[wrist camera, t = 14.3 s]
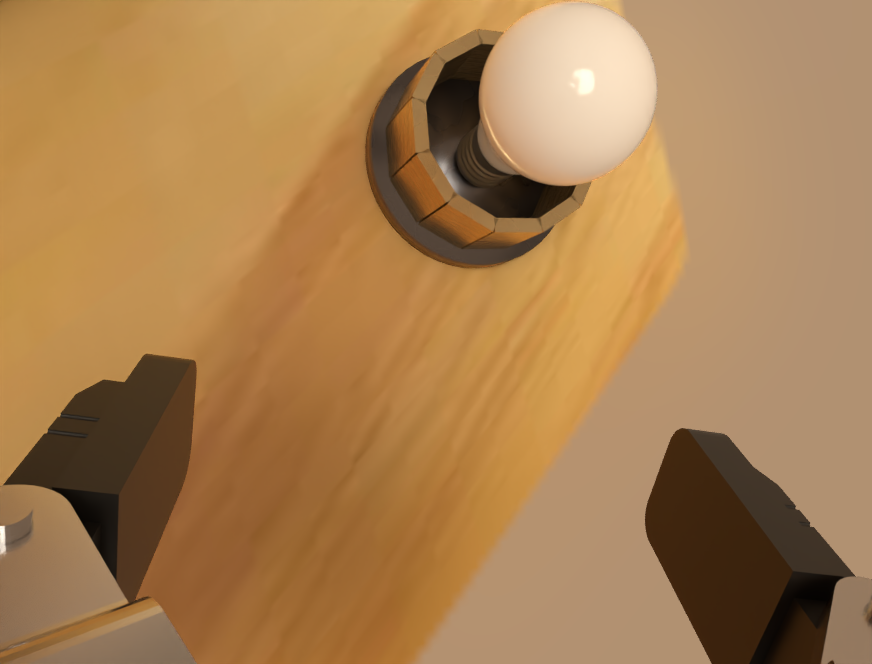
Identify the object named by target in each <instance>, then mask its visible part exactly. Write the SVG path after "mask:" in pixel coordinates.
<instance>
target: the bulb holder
mask: <svg viewBox="0 0 872 664" xmlns="http://www.w3.org/2000/svg"><path fill="white" fill-rule="evenodd" d="M503 33H504V32H497V31H489V30H480V29H478V30H477V31H476V30H474V31H472V32H470V33H468V34H467V35H465V36H463V37H461V38H459V39H457V40H455V41H453V42H451V43H449V44H448V45H446V46H444V47H442V48H440V49H438V50H436V51H435V52H434V53H433V54H432V55H431V57H429V58H427V59H424V60H422V61H420V62H417V63H416V64H414V65H413V66H411V67H410V68H408V69H407V70H405V71H404V72H403V73H402V74H401V75H400V76H399V77H398V78H397V79H396V80H395V81H394V82H393V83H392V85H391V86H390V87H389V88H388V90H387V91H386V92H385V94H384V95H383V96H382V98H381V100H380V101H379V103H378V105H377V106H376V108H375V111H374V113H373V115H372V118H371V120H370V124H369V128H368V132H367V139H366V166H367V173H368V177H369V181H370V185H371V188H372V191H373V193H374V196H375V198H376V201H377V203H378V205H379V207H380V208H381V210H382V212H383V214H384V215H385V217H386V218H387V220H388V221H389V222H390V224H391V225H392V227H393V228H394V229H395V230H396V231H397V232H398V233H399V234H400V235H401V236H402V237H403V238H404V239H405V240H406V241H407V242H408V243H410V244H411V245H412V246H413V247H415V248H416V249H418V250H419V251H421V252H422V253H424V254H425V255H427V256H429V257H431V258H433V259H435V260H437V261H440V262H443V263H446V264H449V265H454V266H459V267H466V268H482V267H490V266H494V265H498V264H501V263H504V262H506V261H509V260H511V259H514V258H516V257H519V256H521V255H523V254H525V253H526V252H528V251H530V250H531V249H533V248H534V247H535V246H536V245H538V244H539V243H540V242H541V241H542V240H543V239H544V238H545V237H546V236H547V235H548V234H549V232H550V231H551V229H552V228H553V227H554V225H555V224H556V223H558V222H559V221H561V220H562V219H564V218H565V217H567V216H568V215H569V214H571V213H572V212H574V211H575V210H577V209H578V208H580V206H581V205H582V204H583V201H584V199H585V196H586V194H587V192H588V189H589V187H590V184H591V182H592V181H591V182H588V183H584V184H579V185H572V186H553V185H547V184H542V183H539V182H535V181H533V180H530V179H528V178H526V177H524V176H522V175H513V176H512V177H510V178H508V179H507V180H505V181H504V182H502V183H501V184H499V185H497V186H495V187H492V188H480V187H477V186H475V185H473V184H471V183H470V182H468V181H467V180H466V179H465V178H464V177H463V175H462V174H461V172H460V170H459V168H458V165H457V161H456V150H457V147H458V144H459V142H460V141H461V139H462V138H463V137H464V136H465V135H466V134H468V133H469V132H470V131H471V130H472V129H473V128H474V127H476V126H477V125H478V123H479V120H480V113H479V85H480V79H481V75H482V71H483V68H484V65H485V63H486V60H487V58H488V56H489V54H490V52H491V50H492V48H493V47H494V45H495V44H496V42H497V41H498V39H499V38H500V37H501V36H502V34H503Z"/></svg>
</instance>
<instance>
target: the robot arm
mask: <svg viewBox="0 0 872 664" xmlns="http://www.w3.org/2000/svg"><path fill="white" fill-rule="evenodd" d="M195 388H196V362H195V361H194V360H189V359H181V358H174V357H167V356H159V355H152V354H145V355H144V356H143V357H142V358H141V360H140V361H139V363H138V364H137V366H136V367H135V368H134V370H133V371H132V373H131V374H130V376H129V377H128V378H127V380H126V381H125V382H117V381H110V380H102V381H100V382H98V383H97V384H95V385H93V386H91V387H89V388H87V389H85V390H83V391H81V392H79V393H78V394H76V395H75V396H74V398H73V399H72V400H71V401H70V403H69V404H68V405H67V406H66V408H65V409H64V410H63V411H62V412H61V416H60V417H57V419H56V420H55V421H54V422H53V424H52V425H51V426H50V427H49V429H48V432H47V434H44V435H43V436H42V437H41V439H40V440H39V441H38V442H37V444H36V445H35V446H34V447H33V449H32V450H31V451H30V452H29V454H28V455H27V456H26V457H25V458H24V460H23V461H22V462H21V463H20V465H19V466H18V467H17V468H16V470H15V471H14V472H13V473H12V475H11V476H10V477H9V478H8V480H7V481H6V482H5V483H4V485H3V486H0V664H197V663H196V662H195V660H194V658H193V657H192V655H191V654H190V652H189V650H188V649H187V647H186V646H185V644H184V642H183V641H182V639H181V638H180V636H179V634H178V633H177V631H176V630H175V628H174V626H173V625H172V623H171V622H170V620H169V618H168V617H167V615H166V614H165V612H164V611H163V609H162V608H161V606H160V605H159V604H158V603H157V602H156V601H155V600H154V599H153V598H151V597H144V598H141V599H138V600H135V598H136V596H137V593H138V591H139V589H140V586H141V584H142V581H143V579H144V577H145V574H146V572H147V570H148V567H149V565H150V562H151V560H152V558H153V555H154V553H155V551H156V548H157V546H158V543H159V541H160V539H161V536H162V534H163V531H164V529H165V527H166V524H167V522H168V520H169V517H170V515H171V512H172V510H173V508H174V505H175V503H176V501H177V498H178V496H179V493H180V491H181V489H182V486H183V483H184V480H185V477H186V473H187V469H188V464H189V459H190V452H191V443H192V429H193V415H194V401H195ZM795 507H796V506H795V504H794V503H793V502H792V501H791V500H790V499H789V497H788V496H787V495H786V494H785V493H784V492H783V490H782V489H781V488H780V487H779V486H778V485H777V484H776V483H774V482H773V481H772V480H770V479H769V478H768V477H766V476H765V475H764V474H762V473H761V472H759V471H758V470H757V469H755V468H754V467H753V466H752V465H751V464H750V462H749V461H748V460H747V459H746V458H745V457H744V455H743V454H742V453H741V452H740V450H739V449H738V448H737V447H736V446H735V444H734V443H733V442H732V441H731V440H730V438H729V437H728V436H727V435H725V434H721V433H714V432H706V431H699V430H692V429H684V428H681V429H679V430H677V431H676V432H675V434H673V436H672V438H671V440H670V442H669V445H668V448H667V450H666V453H665V456H664V459H663V461H662V465H661V467H660V470H659V472H658V475H657V478H656V481H655V484H654V486H653V489H652V492H651V495H650V497H649V500H648V503H647V507H646V514H645V526H646V533H647V537H648V540H649V542H650V544H651V546H652V548H653V550H654V552H655V554H656V556H657V557H658V559H659V561H660V563H661V565H662V567H663V569H664V571H665V573H666V575H667V577H668V579H669V581H670V583H671V585H672V587H673V589H674V591H675V593H676V595H677V597H678V598H679V600H680V602H681V604H682V606H683V608H684V610H685V612H686V614H687V616H688V618H689V620H690V622H691V624H692V626H693V628H694V630H695V632H696V634H697V636H698V638H699V639H700V641H701V643H702V645H703V647H704V649H705V651H706V653H707V655H708V657H709V659H710V661H711V663H712V664H872V579H868V578H863V577H856V576H855V575H854V574H853V573H852V572H851V570H850V569H849V568H848V567H847V566H846V565H845V563H844V562H843V561H842V560H841V559H840V558H839V556H838V555H837V554H836V553H835V552H834V550H833V549H832V548H831V547H830V546H829V544H827V542H826V541H825V540H824V539H823V537H822V536H821V535H820V534H819V533H818V532H817V530H816V529H815V528H814V527H810V522H809V521H808V520H807V519H806V517H805V516H804V515H803V514H802V513H801V512H800V511H799V510H796V509H795ZM134 600H135V601H134Z"/></svg>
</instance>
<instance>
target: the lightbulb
mask: <svg viewBox="0 0 872 664" xmlns="http://www.w3.org/2000/svg"><path fill="white" fill-rule="evenodd" d="M656 102H657V75H656V70H655V65H654V62H653V58H652V55H651V53H650V51H649V49H648V47H647V45H646V43H645V41H644V40H643V38H642V37H641V35H640V34H639V33H638V32H637V30H636V29H635V28H634V27H633V26H632V25H631V24H630V23H629V22H628V21H627V20H626V19H624V18H623V17H622V16H620V15H619V14H617V13H615V12H614V11H612V10H610V9H608V8H606V7H603V6H600V5H597V4H594V3H589V2H582V1H564V2H557V3H553V4H549V5H545V6H542V7H540V8H537V9H535V10H533V11H531V12H529V13H527V14H526V15H524V16H523V17H521V18H520V19H518V20H517V21H516V22H515V23H513V24H512V25H511V26H510V27H509V28H508V29H507V30H506V31H505V32H504V33H503V34H502V36H501V37H500V38H499V39H498V41H497V42H496V44H495V45H494V47H493V48H492V50H491V52H490V54H489V56H488V58H487V60H486V63H485V65H484V68H483V71H482V75H481V79H480V85H479V113H480V120H479V123H478V125H477V126H476V127H474V128H473V129H472V130H471V131H470V132H469V133H468V134H466V135H465V136H464V137H463V138H462V139H461V141H460V142H459V144H458V147H457V150H456V161H457V165H458V168H459V170H460V172H461V174H462V175H463V177H464V178H465V179H466V180H467V181H468V182H470V183H471V184H473V185H475V186H477V187H480V188H492V187H495V186H497V185H499V184H501V183H502V182H504V181H505V180H507V179H508V178H510V177H512V176H513V175H522V176H524V177H526V178H528V179H530V180H533V181H535V182H539V183H542V184H547V185H553V186H572V185H579V184H584V183H588V182H591V181H594V180H596V179H599V178H601V177H603V176H605V175H607V174H609V173H610V172H612V171H613V170H615V169H616V168H618V167H619V166H620V165H622V164H623V163H624V162H625V161H626V160H627V159H628V158H629V157H630V156H631V155H632V154H633V153H634V152H635V150H636V149H637V148H638V146H639V145H640V144H641V142H642V141H643V139H644V137H645V135H646V133H647V131H648V129H649V127H650V125H651V122H652V119H653V116H654V112H655V108H656Z"/></svg>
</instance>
